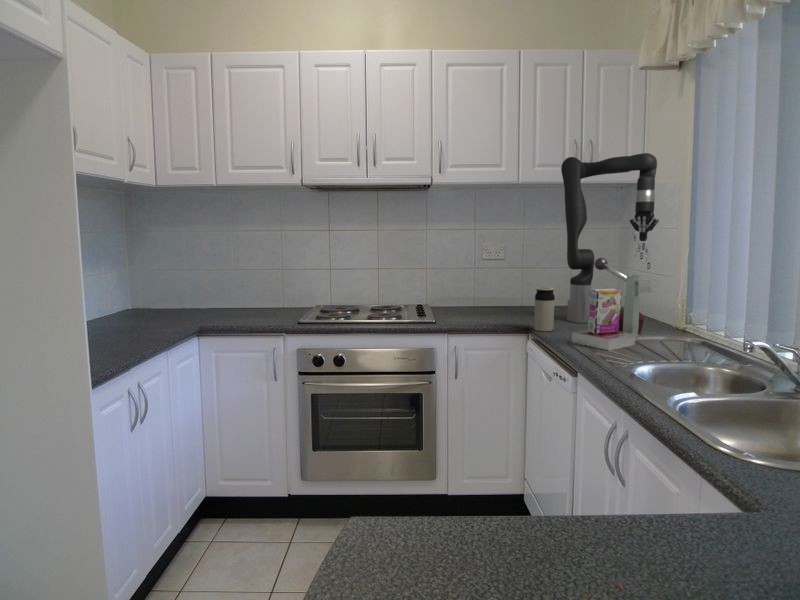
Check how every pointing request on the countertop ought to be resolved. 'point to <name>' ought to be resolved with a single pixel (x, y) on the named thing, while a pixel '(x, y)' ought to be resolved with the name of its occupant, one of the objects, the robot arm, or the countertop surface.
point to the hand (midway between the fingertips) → (643, 241)
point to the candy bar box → (604, 311)
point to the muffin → (623, 318)
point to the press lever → (644, 284)
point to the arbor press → (629, 323)
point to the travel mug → (544, 309)
